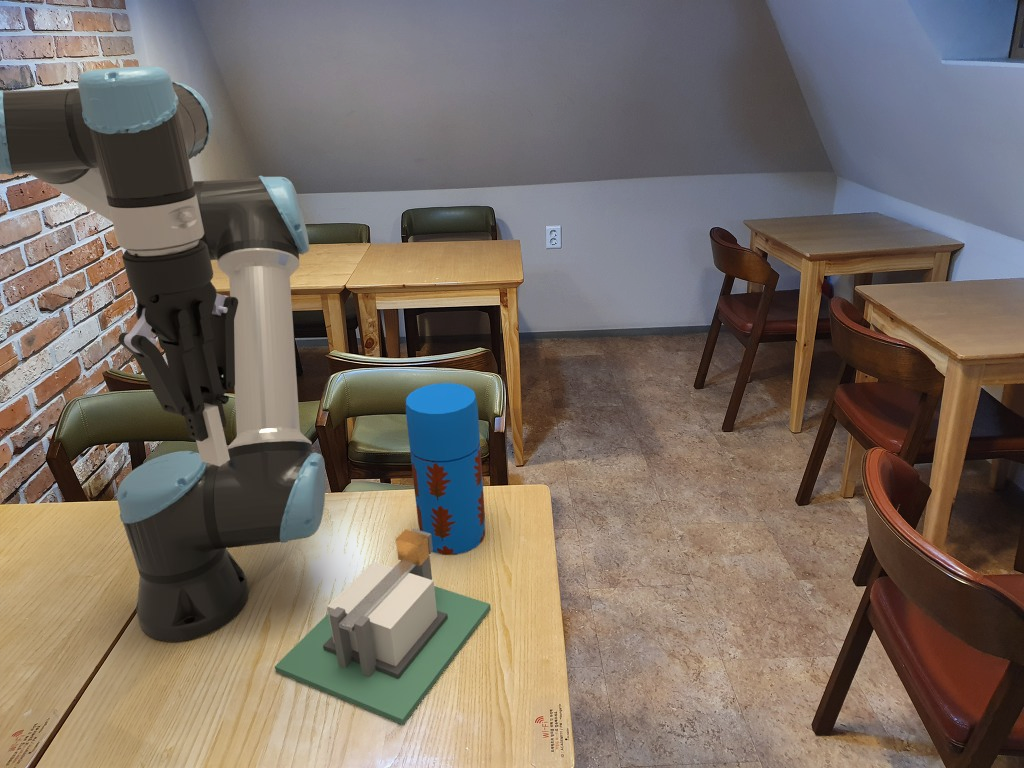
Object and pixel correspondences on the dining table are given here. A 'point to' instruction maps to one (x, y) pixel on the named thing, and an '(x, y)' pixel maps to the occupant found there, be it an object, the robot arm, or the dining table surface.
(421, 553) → the grey and orange bar
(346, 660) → the lever on green base
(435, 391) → the thermos
